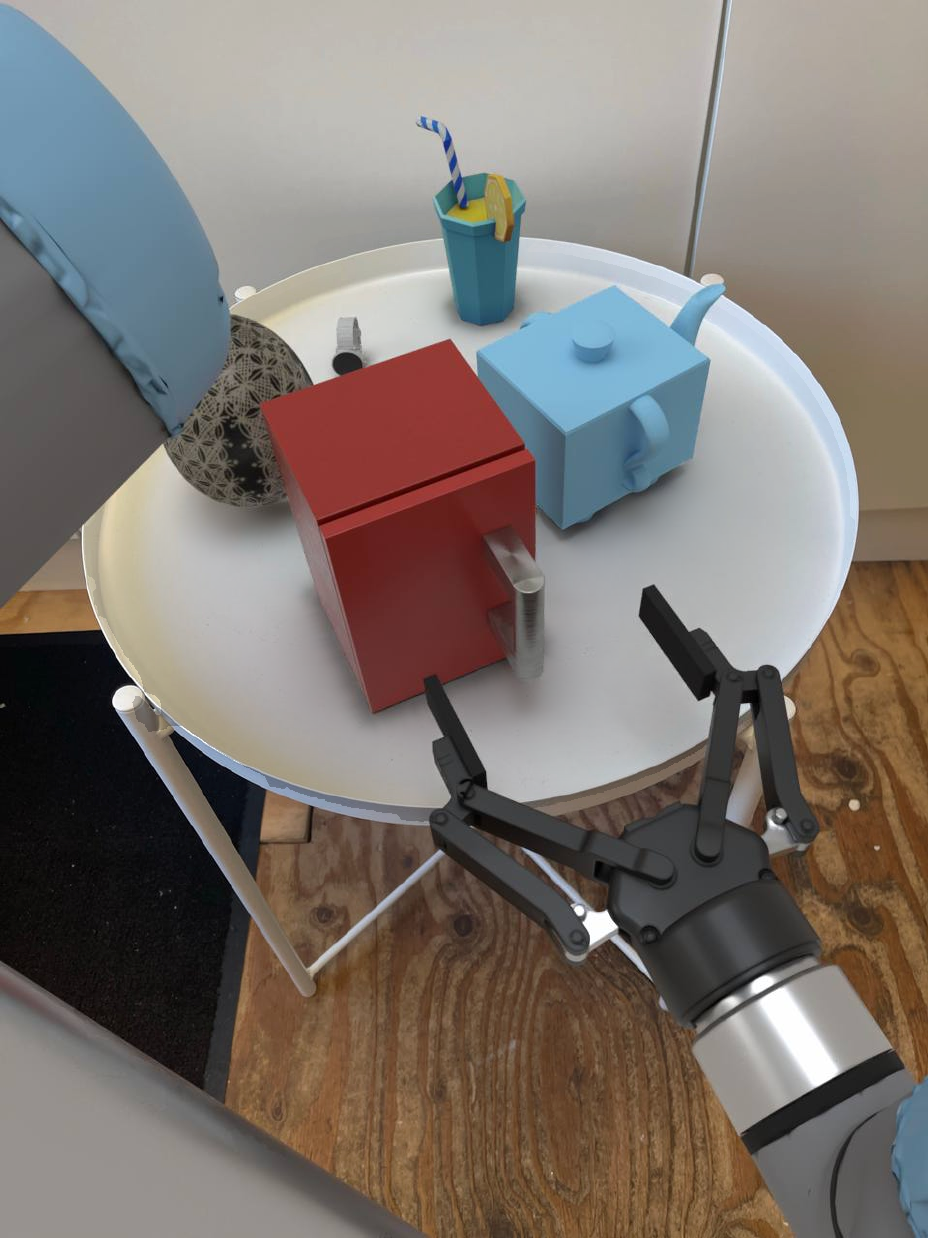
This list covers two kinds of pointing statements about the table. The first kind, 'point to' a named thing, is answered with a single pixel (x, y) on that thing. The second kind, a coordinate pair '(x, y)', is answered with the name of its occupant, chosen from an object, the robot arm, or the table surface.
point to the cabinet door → (442, 580)
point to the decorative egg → (239, 420)
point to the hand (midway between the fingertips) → (540, 643)
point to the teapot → (601, 396)
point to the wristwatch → (348, 347)
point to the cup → (479, 236)
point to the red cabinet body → (379, 445)
